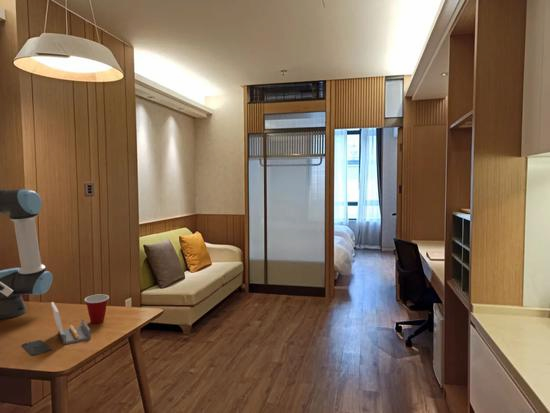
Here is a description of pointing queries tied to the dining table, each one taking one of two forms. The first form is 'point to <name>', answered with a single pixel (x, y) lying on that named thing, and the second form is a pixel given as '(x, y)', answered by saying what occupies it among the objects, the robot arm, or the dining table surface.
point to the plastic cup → (96, 307)
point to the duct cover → (57, 318)
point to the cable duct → (76, 333)
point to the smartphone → (36, 347)
